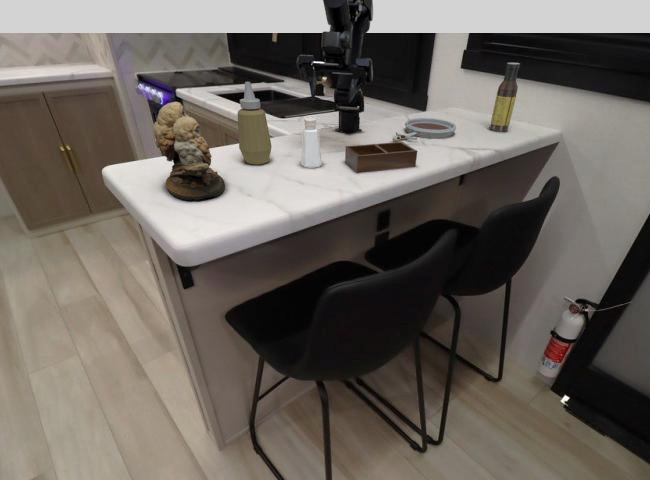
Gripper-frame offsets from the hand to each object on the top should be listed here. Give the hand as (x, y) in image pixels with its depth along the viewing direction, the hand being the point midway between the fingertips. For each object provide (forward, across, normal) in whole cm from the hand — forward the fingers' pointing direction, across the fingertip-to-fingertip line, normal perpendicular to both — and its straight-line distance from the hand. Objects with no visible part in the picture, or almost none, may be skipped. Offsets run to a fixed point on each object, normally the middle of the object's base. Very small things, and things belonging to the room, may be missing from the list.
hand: (330, 100), depth 94 cm
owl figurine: (+30, -24, -11) cm, 40 cm away
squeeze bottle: (+16, -18, +3) cm, 24 cm away
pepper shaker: (+15, -3, +4) cm, 16 cm away
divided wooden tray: (+12, +14, +7) cm, 20 cm away
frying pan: (-10, +23, +31) cm, 40 cm away
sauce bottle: (-20, +50, +42) cm, 68 cm away
